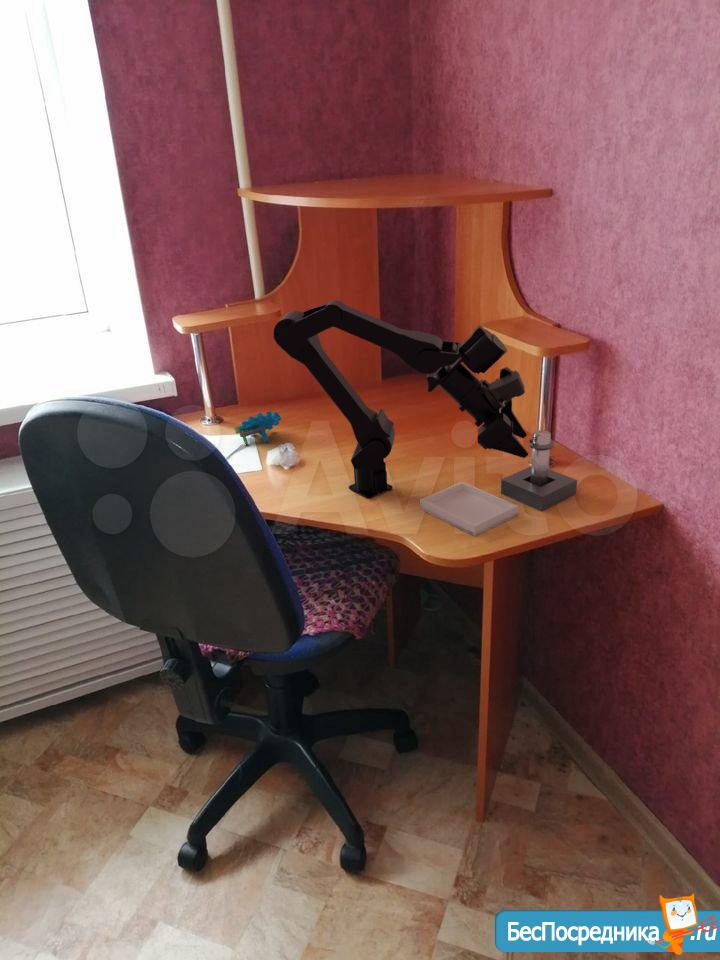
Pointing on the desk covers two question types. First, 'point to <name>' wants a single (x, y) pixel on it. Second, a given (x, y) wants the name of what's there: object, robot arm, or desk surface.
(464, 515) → the tray
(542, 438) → the steel pin
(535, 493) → the hitch block
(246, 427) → the blue spiky toy
